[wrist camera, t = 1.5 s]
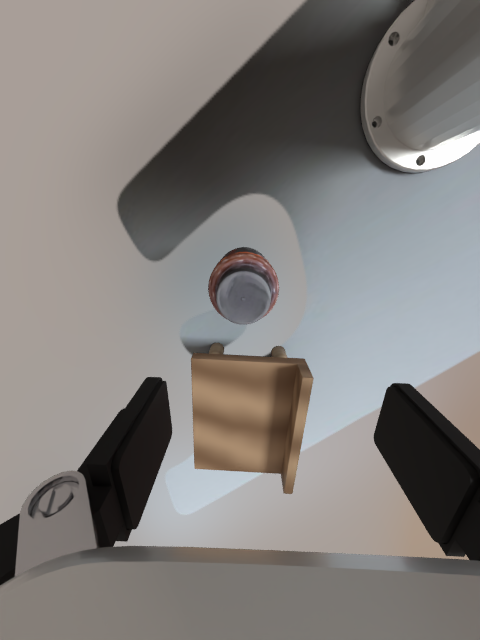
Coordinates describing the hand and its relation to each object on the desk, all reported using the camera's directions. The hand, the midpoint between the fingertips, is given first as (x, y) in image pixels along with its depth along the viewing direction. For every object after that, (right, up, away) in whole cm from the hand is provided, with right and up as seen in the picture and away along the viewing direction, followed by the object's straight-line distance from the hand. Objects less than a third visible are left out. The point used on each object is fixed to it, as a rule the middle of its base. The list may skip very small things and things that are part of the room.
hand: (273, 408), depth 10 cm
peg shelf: (-1, -6, +23) cm, 23 cm away
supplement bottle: (-1, +9, +17) cm, 20 cm away
